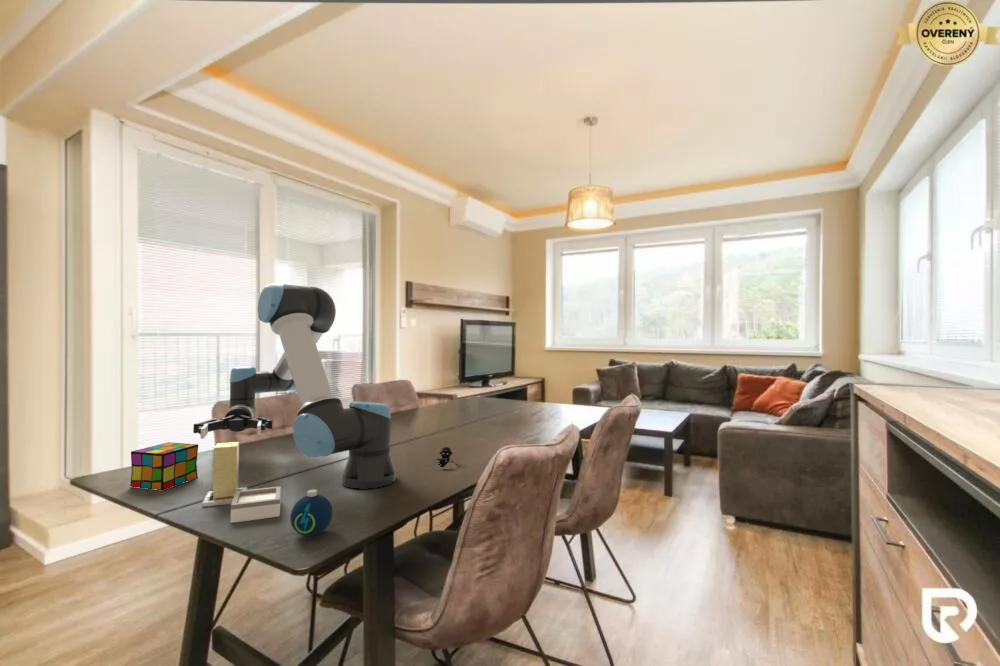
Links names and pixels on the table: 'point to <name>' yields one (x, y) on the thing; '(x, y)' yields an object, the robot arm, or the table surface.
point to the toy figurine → (445, 456)
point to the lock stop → (225, 470)
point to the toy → (164, 465)
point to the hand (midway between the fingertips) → (231, 432)
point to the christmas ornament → (311, 514)
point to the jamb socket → (217, 502)
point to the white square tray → (256, 504)
